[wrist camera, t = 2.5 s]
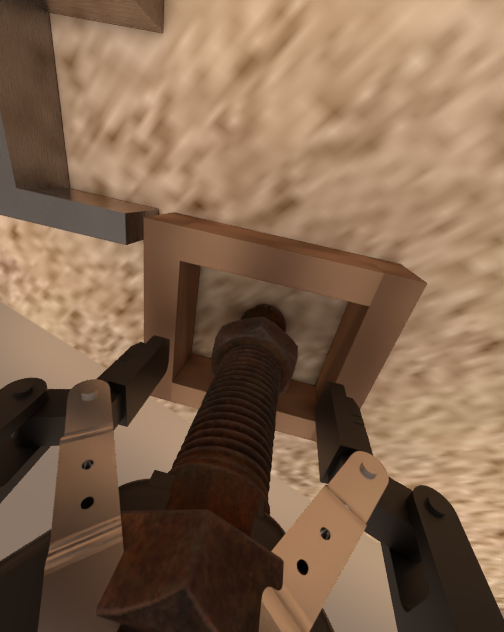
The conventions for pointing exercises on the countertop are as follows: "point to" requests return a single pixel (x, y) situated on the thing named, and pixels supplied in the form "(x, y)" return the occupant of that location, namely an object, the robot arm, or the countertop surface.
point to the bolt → (212, 499)
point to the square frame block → (279, 268)
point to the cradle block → (55, 121)
